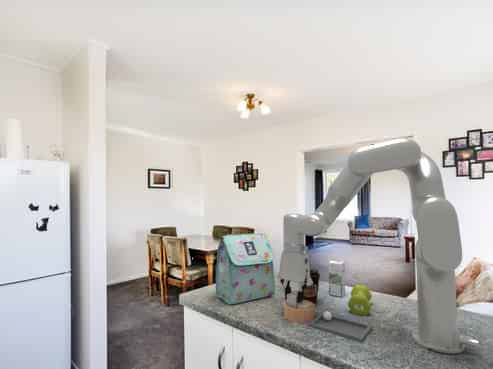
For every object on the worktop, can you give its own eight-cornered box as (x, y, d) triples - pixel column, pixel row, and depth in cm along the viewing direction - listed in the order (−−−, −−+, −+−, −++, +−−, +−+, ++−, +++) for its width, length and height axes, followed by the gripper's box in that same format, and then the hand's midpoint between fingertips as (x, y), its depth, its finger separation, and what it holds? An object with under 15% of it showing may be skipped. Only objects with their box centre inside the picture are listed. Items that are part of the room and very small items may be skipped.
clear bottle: (345, 294, 125) (345, 260, 125) (342, 298, 120) (341, 263, 120) (332, 291, 128) (332, 259, 129) (328, 295, 123) (328, 261, 124)
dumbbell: (351, 300, 117) (351, 282, 118) (372, 303, 114) (372, 285, 114) (347, 315, 102) (346, 294, 103) (371, 319, 99) (370, 298, 99)
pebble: (333, 320, 96) (333, 311, 97) (330, 323, 94) (329, 313, 94) (324, 317, 98) (324, 309, 98) (321, 320, 96) (321, 311, 96)
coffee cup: (320, 308, 108) (320, 273, 109) (298, 306, 110) (298, 272, 111) (319, 300, 117) (319, 268, 118) (299, 298, 118) (298, 267, 119)
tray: (372, 330, 90) (372, 325, 90) (362, 344, 81) (361, 338, 81) (322, 317, 100) (322, 312, 100) (308, 328, 91) (308, 323, 92)
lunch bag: (229, 308, 108) (230, 237, 109) (212, 295, 122) (213, 232, 124) (278, 297, 120) (278, 233, 121) (257, 287, 134) (257, 230, 135)
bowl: (319, 316, 100) (319, 303, 101) (306, 326, 92) (306, 312, 92) (293, 309, 107) (293, 297, 107) (278, 318, 99) (278, 305, 99)
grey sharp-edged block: (301, 306, 101) (301, 293, 101) (295, 309, 98) (295, 296, 98) (292, 304, 103) (292, 291, 104) (286, 307, 100) (286, 294, 100)
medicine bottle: (302, 291, 128) (301, 264, 128) (286, 291, 128) (286, 264, 129) (299, 286, 135) (299, 261, 136) (284, 286, 135) (284, 261, 136)
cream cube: (312, 316, 99) (311, 303, 99) (306, 320, 96) (306, 306, 96) (303, 314, 101) (302, 301, 102) (297, 317, 98) (297, 304, 98)
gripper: (320, 249, 100) (320, 302, 99) (279, 244, 110) (279, 292, 109) (311, 252, 94) (311, 309, 93) (268, 247, 104) (268, 298, 103)
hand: (294, 299), depth 101 cm, fingers open, 4 cm apart
